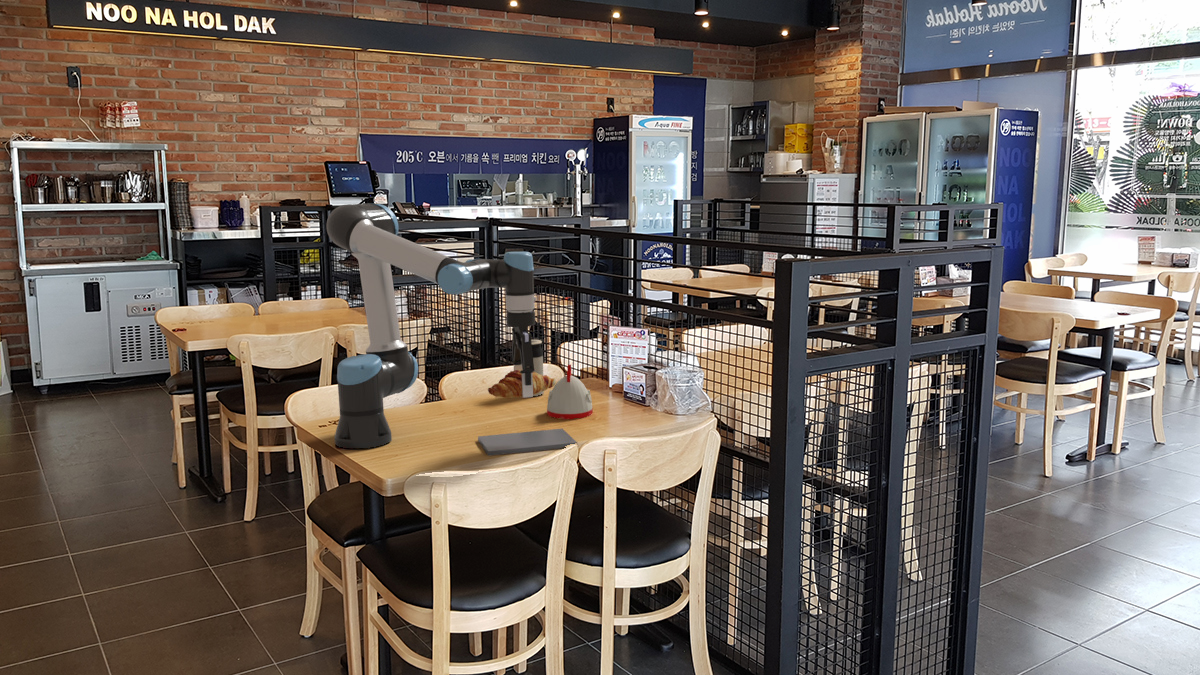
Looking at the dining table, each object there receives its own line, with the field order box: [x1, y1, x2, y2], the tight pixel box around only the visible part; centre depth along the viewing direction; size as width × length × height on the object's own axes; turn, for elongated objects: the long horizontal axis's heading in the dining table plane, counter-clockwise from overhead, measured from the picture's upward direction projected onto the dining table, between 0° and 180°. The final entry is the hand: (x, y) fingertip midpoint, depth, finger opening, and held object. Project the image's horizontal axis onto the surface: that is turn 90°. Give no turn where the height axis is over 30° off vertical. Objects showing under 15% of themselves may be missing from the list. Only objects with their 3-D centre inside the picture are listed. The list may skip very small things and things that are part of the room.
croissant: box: [487, 370, 557, 399], centre depth 244 cm, size 21×10×8 cm, turn 130°
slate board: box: [477, 428, 578, 457], centre depth 247 cm, size 24×15×2 cm, turn 108°
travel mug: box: [521, 339, 545, 397], centre depth 304 cm, size 8×8×18 cm
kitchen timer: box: [546, 364, 594, 420], centre depth 278 cm, size 14×14×15 cm
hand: (523, 392), depth 244 cm, fingers closed on croissant, 10 cm apart
